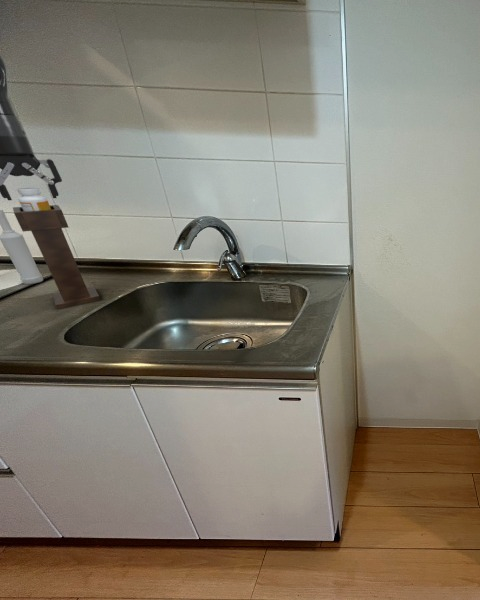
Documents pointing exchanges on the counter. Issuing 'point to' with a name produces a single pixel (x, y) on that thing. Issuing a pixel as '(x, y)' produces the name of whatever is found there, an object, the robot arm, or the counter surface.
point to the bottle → (19, 252)
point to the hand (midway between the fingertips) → (33, 198)
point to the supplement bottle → (33, 200)
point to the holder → (57, 255)
